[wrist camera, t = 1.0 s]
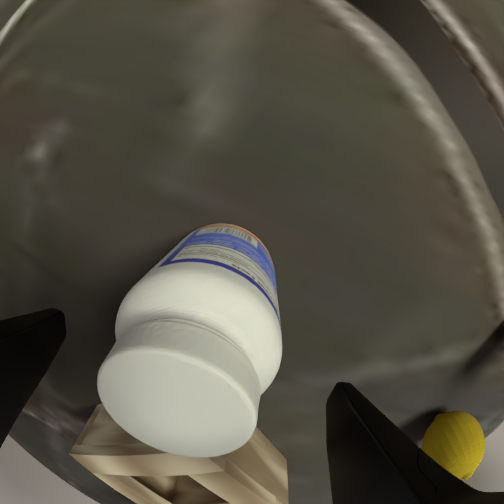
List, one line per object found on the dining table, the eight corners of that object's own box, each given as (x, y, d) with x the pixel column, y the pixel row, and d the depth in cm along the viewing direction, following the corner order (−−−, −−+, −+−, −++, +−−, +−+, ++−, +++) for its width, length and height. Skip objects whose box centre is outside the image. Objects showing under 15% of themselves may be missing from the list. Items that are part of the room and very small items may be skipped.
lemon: (401, 426, 19) (429, 496, 11) (450, 385, 17) (492, 451, 10) (425, 438, 20) (450, 497, 12) (468, 403, 18) (502, 458, 11)
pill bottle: (216, 332, 16) (177, 481, 7) (153, 260, 15) (43, 374, 6) (295, 282, 15) (331, 435, 6) (232, 198, 14) (170, 268, 4)
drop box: (178, 475, 22) (167, 520, 16) (97, 404, 19) (69, 453, 13) (286, 459, 20) (288, 515, 14) (214, 375, 17) (198, 449, 11)
